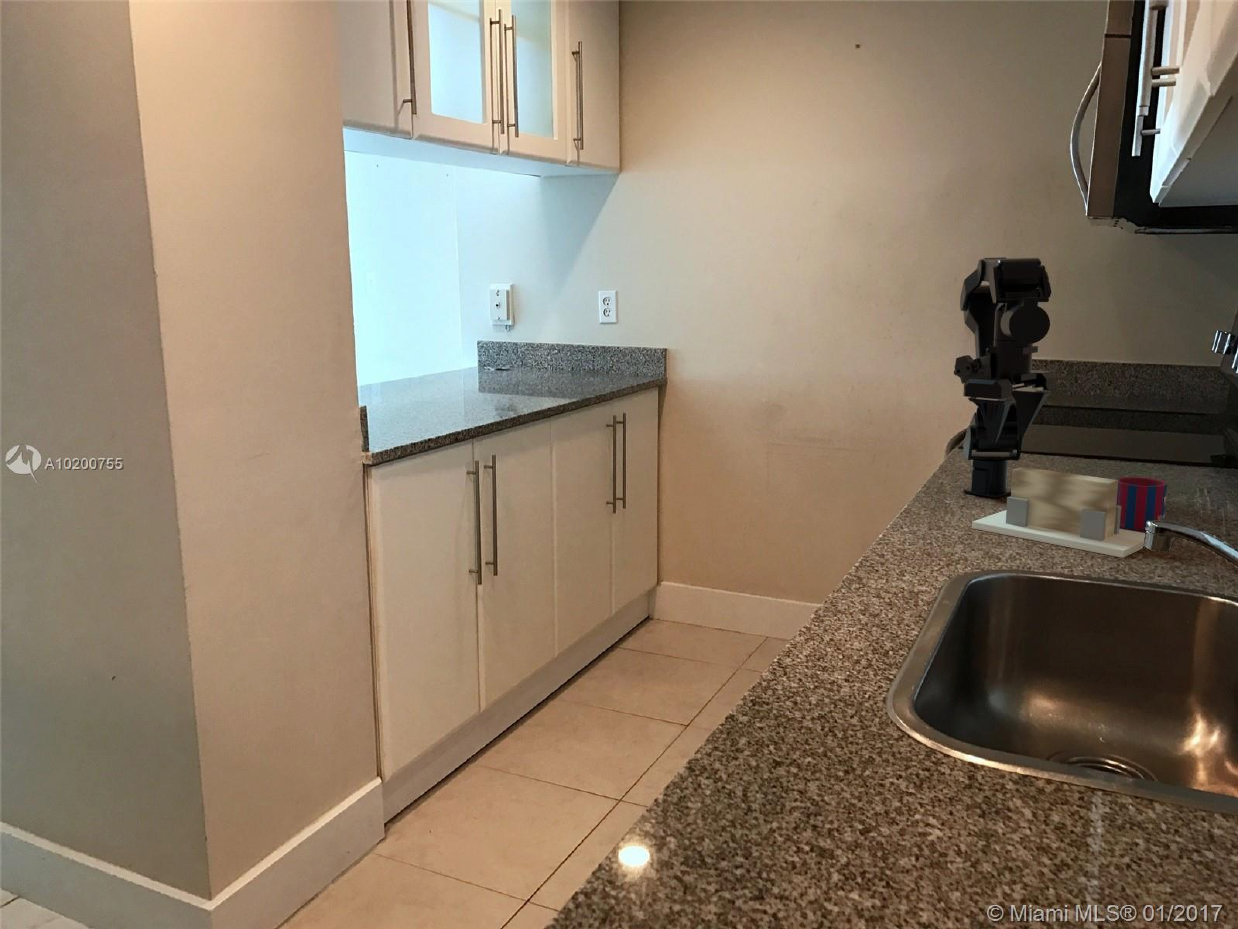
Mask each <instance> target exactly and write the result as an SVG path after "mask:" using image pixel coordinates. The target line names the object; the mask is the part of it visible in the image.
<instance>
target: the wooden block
mask: <svg viewBox="0 0 1238 929" xmlns="http://www.w3.org/2000/svg"><path fill="white" fill-rule="evenodd" d="M1011 472H1012V474H1011V486H1010V487H1011V488H1010V489H1011V494H1010V497H1015V498H1021V499H1028V500H1029V512H1028V525H1031V526H1036V527H1042V528H1047V529H1053V530H1058V531H1064V532H1069V533H1074V534H1080V526H1081V512H1082V509H1089V510H1095V511H1101V512H1106V520H1105V532H1104V539H1106V538H1108V537H1111V536H1113V535H1114V527H1115V515H1116V502H1117V490H1118V480H1117V479H1112V478H1105V477H1098V476H1090V475H1083V474H1075V473H1068V472H1061V471H1054V470H1046V469H1040V468H1033V467H1025V466H1019V467H1017V468H1013V469H1012V471H1011Z"/></svg>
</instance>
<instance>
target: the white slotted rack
mask: <svg viewBox="0 0 1238 929" xmlns="http://www.w3.org/2000/svg"><path fill="white" fill-rule="evenodd" d="M1028 512H1029V500H1028V499H1021V498H1015V497H1011V496H1008V497H1006V509H1005V510H1002V511H999V512H997V513H994V514H990V515H987V516H984V517H981V518H979V519H976V520H973V521H972V522H971V529H975V530H978V531H979V530H980V531H984V532H990V533H993V534H998V535H999V534H1000V535H1005V536H1010V537H1016V538H1020V539H1024V540H1030V541H1036V542H1041V543H1046V544H1052V545H1056V546H1060V547H1061V546H1062V547H1067V548H1072V549H1077V550H1081V551H1088V552H1092V553H1097V554H1100V555H1101V554H1102V555H1105V556H1112V557H1116V558H1117V557H1118V558H1122V559H1124V558H1126V557H1128V556H1129V555H1132V554H1133V553H1134V554H1135V553H1136V552H1138V551H1139V550H1142V549H1144V548H1143V544H1144V537H1145V533H1146V532H1141V531H1136V530H1130V529H1125V528H1121V527H1120V515H1121V506H1116V515H1115V527H1114V535H1113V536H1111V537H1108V538H1106V539H1104V532H1105V520H1106V512H1101V511H1095V510H1089V509H1082V512H1081V526H1080V534H1074V533H1069V532H1064V531H1058V530H1053V529H1047V528H1042V527H1036V526H1031V525H1028Z"/></svg>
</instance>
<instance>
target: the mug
mask: <svg viewBox="0 0 1238 929" xmlns="http://www.w3.org/2000/svg"><path fill="white" fill-rule="evenodd" d="M1116 480H1118V490H1117V502H1116V506H1121V515H1120V527H1119V528H1120V529H1124V530H1130V531H1138V532H1141V531H1143V532H1146V531H1145V527H1146V521H1147V520H1164V521H1165V513H1166V505H1167V504H1166V503H1167V492H1168V491H1167V490H1168V483H1167V482H1166V481H1165V480H1161V479H1158V478H1157V479H1156V478H1150V477H1141V476H1140V477H1139V476H1128V477H1120V478H1119V477H1118V478H1117V479H1116Z"/></svg>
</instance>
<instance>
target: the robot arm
mask: <svg viewBox="0 0 1238 929" xmlns="http://www.w3.org/2000/svg"><path fill="white" fill-rule="evenodd" d="M983 282H987V283H988V284H983ZM960 292H961V293H960V298H959V308H960V312H963V321H964V322H963V323H964V324H965V325H966V326H967V328H968V329H969V330H970V331H971V333H973V335H974V347H975V348H974V349H975V351H974V352H975V358H974V359H973V358H972V356H971V355H969V354H967V355H962V356H958V357H956V358H955V362H954V363H955V364H954V370H953V375H954V376H957V377H958V378H959V379H960V383H961V384H962V385H963V397H966V398H967V399H968V402H972V403H973V404H975V406H976V407H977V408H976V409H975V410H974V412H973V414H972V417H971V420H970V422H969V425H968V426H967V428H966V429H967V430H966V433H965V437H964V440H963V443H962V444H963V445H962V448H963V453H962V454H963V455H962V456H963V457H964V458H965V459H966V461H971V460H972V464H971V465H972V466H971V468H972V469H971V484H970V486H969V487H967V488H964V489H963V490H962V493H965V494H970V495H976V496H983V497H988V498H996V499H997V498H1001V497H1003V496H1008V495H1011V488H1007V487H1008V486H1007V484H1008V466H1009V461H1015V462H1019V460H1021V453H1022V452H1021V451H1022V446H1023V443H1024V439H1025V435H1026V434H1027V432H1028V430H1029V428H1030V427H1031V425H1032V423H1033V422H1034V420H1035V418H1036V417H1037V415H1038V413H1039V411H1040V409H1041V408H1042V407H1043V404H1045V401H1046V400H1047V398H1048V397H1049V396H1050V395H1051V394H1052V391H1051V390H1054V389H1056V385H1057V384H1056V383H1057V376H1055V374H1054V373H1053V371H1050V370H1038V369H1037V370H1032V362H1033V354H1036V353H1038V352H1039V346H1038V345H1034V344H1037V343H1038V342H1040V341H1042V340H1043V339H1045V337H1046V336H1047V335H1048V332H1049V330H1050V327H1051V320H1050V316H1049V314H1048V313H1047V311H1046V310H1045V309H1044V308H1042V307H1040V306H1039V303H1049V301H1050V298H1051V294H1052V292H1053V291H1052V287H1051V282H1050V277H1049V273H1048V272H1047V269H1046V266H1045V265H1044V264H1042V260H1041V259H1040V258H1039V257H1023V258H1022V257H1017V258H1007V257H1005V256H1004V257H1003V256H1002V257H998V256H997V257H984V258H982V259H981V258H980V259H979V260H978V263H977V266H976V269H975V270H973V272H971V273H970V274H969V275H968V276H967V277H966V278H965V279H964V280H963V283H962V288H961V291H960ZM1010 397H1012V398H1014V399H1012V398H1010ZM1013 400H1014V401H1015V404H1012V402H1013ZM1015 405H1016V406H1015Z"/></svg>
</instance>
